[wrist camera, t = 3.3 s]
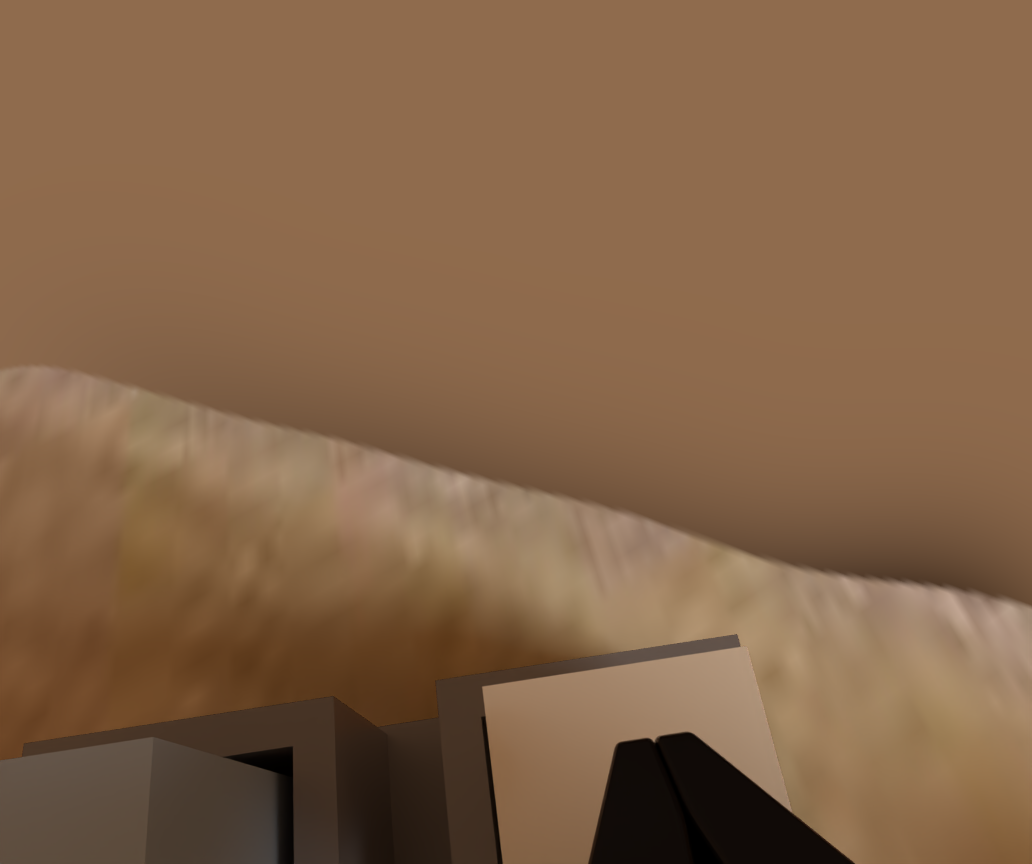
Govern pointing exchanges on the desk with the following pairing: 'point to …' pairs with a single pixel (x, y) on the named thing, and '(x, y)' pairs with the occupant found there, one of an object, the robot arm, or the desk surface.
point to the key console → (378, 765)
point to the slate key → (143, 807)
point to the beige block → (612, 741)
